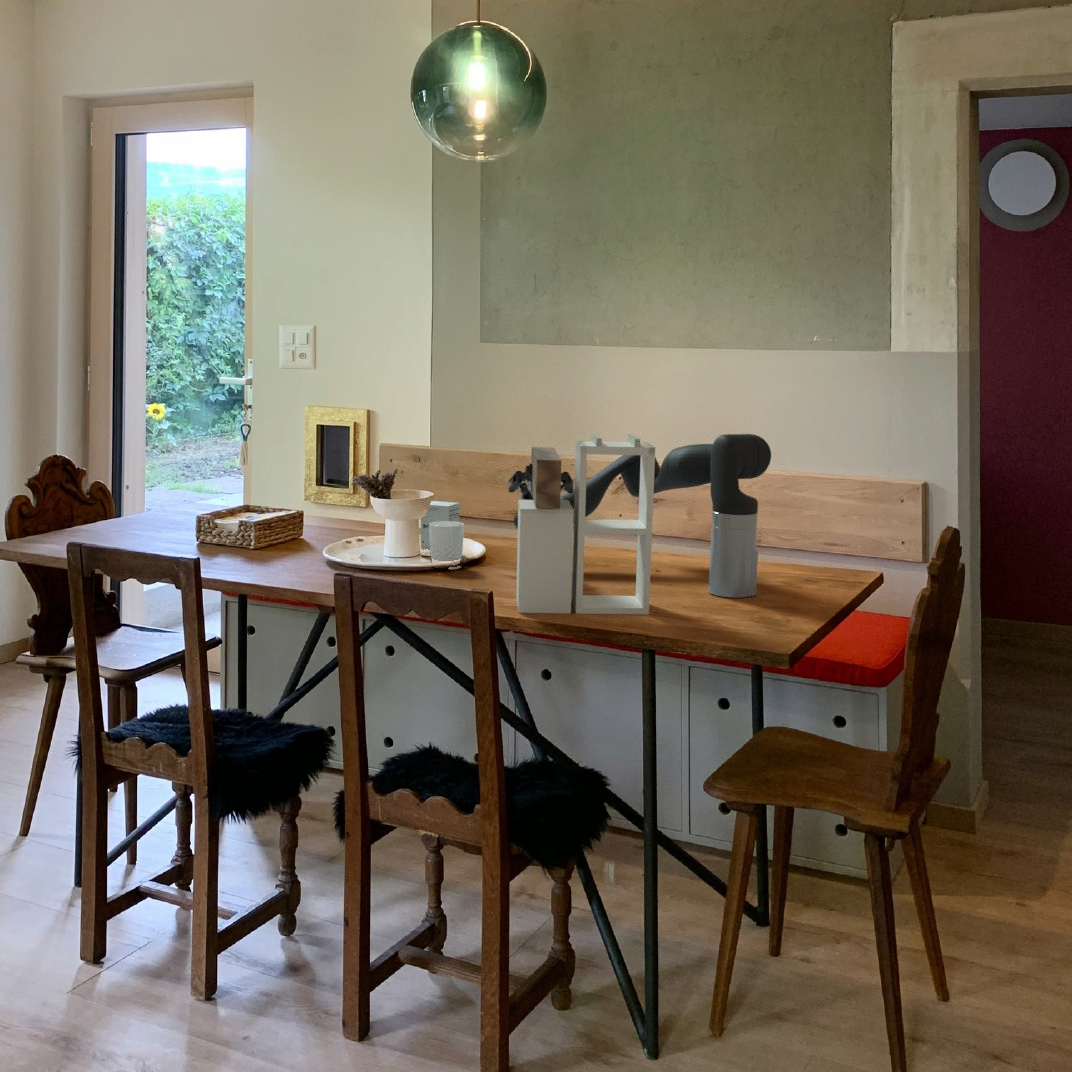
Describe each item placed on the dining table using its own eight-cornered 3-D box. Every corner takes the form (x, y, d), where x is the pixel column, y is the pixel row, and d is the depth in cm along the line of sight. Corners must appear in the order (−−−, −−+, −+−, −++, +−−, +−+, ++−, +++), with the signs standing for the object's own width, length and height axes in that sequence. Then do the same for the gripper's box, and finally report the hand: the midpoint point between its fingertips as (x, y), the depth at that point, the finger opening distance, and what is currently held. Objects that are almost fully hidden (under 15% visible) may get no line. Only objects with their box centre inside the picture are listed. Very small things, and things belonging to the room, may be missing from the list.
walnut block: (552, 491, 245) (553, 447, 244) (560, 508, 222) (561, 460, 220) (530, 490, 245) (531, 447, 243) (535, 508, 221) (536, 459, 220)
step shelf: (639, 599, 242) (646, 434, 236) (648, 614, 229) (655, 439, 223) (516, 598, 240) (519, 431, 235) (518, 612, 228) (522, 436, 222)
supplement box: (419, 556, 284) (419, 503, 281) (431, 551, 291) (431, 500, 288) (448, 559, 281) (448, 505, 279) (459, 553, 288) (460, 501, 286)
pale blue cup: (432, 571, 266) (432, 526, 265) (425, 564, 274) (426, 521, 272) (466, 570, 269) (467, 526, 267) (459, 563, 276) (460, 520, 274)
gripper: (572, 516, 253) (579, 485, 237) (505, 515, 253) (507, 484, 237) (572, 484, 256) (579, 451, 240) (505, 483, 255) (507, 450, 239)
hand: (543, 468), depth 238 cm, fingers closed on walnut block, 4 cm apart
